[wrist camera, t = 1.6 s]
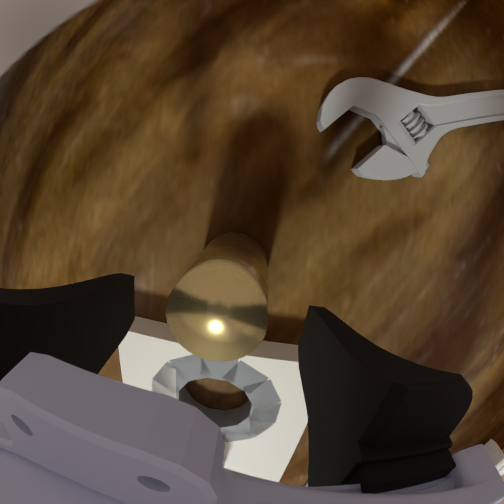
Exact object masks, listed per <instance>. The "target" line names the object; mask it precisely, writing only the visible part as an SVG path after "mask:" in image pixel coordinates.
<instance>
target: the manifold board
mask: <svg viewBox="0 0 504 504" xmlns="http://www.w3.org/2000/svg"><path fill="white" fill-rule="evenodd" d="M298 346H299V345H294V344H286V343H278V342H270V341H263V340H262V342H261V343H260V345H259V346H258V347H257V348H256V349H255V350H254V351H253V352H251V353H250V354H248V355H247V356H244V357H242V358H240V359H237V360H233V361H225V362H217V361H210V360H206V359H203V358H200V357H198V356H196V355H194V354H192V353H190V352H189V351H187V350H186V349H185V348H183V347H182V346H181V345H180V344H179V343H178V342H177V340H176V339H175V338H174V336H173V335H172V333H171V331H170V329H169V327H168V323H163V322H159V321H154V320H150V319H146V318H141V317H137V316H135V320H134V322H133V323H132V325H131V327H130V329H129V331H128V333H127V335H126V336H125V338H124V339H123V341H122V342H121V343H120V345H119V355H120V364H121V372H122V379H123V383H125V384H128V385H131V386H135V387H138V388H142V389H145V390H149V391H153V392H157V393H161V394H164V395H167V396H170V397H172V398H175V399H177V400H180V401H182V402H184V403H187V404H190V405H192V406H195V407H196V408H197V409H199V410H200V411H201V412H202V413H203V414H205V415H206V416H207V417H208V418H209V419H210V420H212V421H213V422H214V423H215V424H217V425H218V426H219V427H220V430H221V434H222V437H223V440H224V443H225V449H224V455H223V462H222V463H223V468H226V469H229V470H233V471H236V472H240V473H243V474H247V475H250V476H254V477H258V478H262V479H266V480H271V481H275V482H279V480H280V478H281V476H282V474H283V473H284V471H285V469H286V467H287V465H288V463H289V461H290V459H291V457H292V455H293V453H294V451H295V449H296V446H297V444H298V442H299V440H300V438H301V436H302V434H303V431H304V429H305V427H306V425H307V422H308V417H307V409H306V404H305V398H304V393H303V388H302V383H301V377H300V372H299V363H298ZM202 378H212V379H218V380H224V381H228V382H230V383H232V384H233V385H235V386H236V387H238V388H240V389H242V390H243V391H245V393H246V395H247V397H248V398H249V400H248V401H247V402H246V403H244V404H243V405H242V406H241V407H239V408H234V409H228V410H219V409H213V408H208V407H206V406H204V405H202V404H200V403H199V402H197V401H195V400H194V399H193V398H192V397H191V396H190V394H189V393H188V391H187V390H186V388H185V384H186V383H187V382H188V381H193V380H197V379H202Z"/></svg>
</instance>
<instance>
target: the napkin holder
mask: <svg viewBox="0 0 504 504" xmlns="http://www.w3.org/2000/svg"><path fill="white" fill-rule="evenodd" d="M484 448H485V449H486V451H487V453H488V454H489V456H490V458H491V460H492V461H493V463H494V465H495V467H496V469H497V470H498V472H499V474H500V476H502V475H503V474H504V454H503V452H502V451H501V449H500V448H499V446H498V444H497V443H496V442H495V441H493V440H492V439H490V440H489V441H488V442H487V443H486V444H485V445H484Z"/></svg>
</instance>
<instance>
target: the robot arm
mask: <svg viewBox="0 0 504 504" xmlns="http://www.w3.org/2000/svg"><path fill="white" fill-rule="evenodd" d="M134 320H135V306H134V276H132V275H127V274H123V273H118V274H112V275H107V276H103V277H99V278H95V279H91V280H87V281H83V282H78V283H74V284H69V285H64V286H59V287H52V288H43V289H3V288H0V504H498V503H499V502H500V501H501V500H503V499H504V482H503V480H502V478H501V476H500V474H499V472H498V470H497V469H496V467H495V465H494V463H493V461H492V460H491V458H490V456H489V454H488V453H487V451H486V449H485V448H484V446H483V444H478V445H475V446H472V447H469V448H466V449H463V450H460V451H458V452H457V453H455V454H454V455H452V456H451V454H450V452H449V450H448V449H449V448H450V447H451V446H452V441H451V439H450V437H449V436H450V434H451V433H452V432H453V430H454V429H455V428H456V426H457V425H458V424H459V422H460V421H461V420H462V418H463V417H464V415H465V414H466V412H467V410H468V409H469V406H470V404H471V401H472V393H473V391H472V389H471V387H470V385H469V384H468V383H467V381H466V380H465V379H464V378H463V376H462V375H460V374H455V373H450V372H445V371H440V370H435V369H432V368H428V367H425V366H422V365H418V364H416V363H413V362H410V361H408V360H405V359H403V358H401V357H398V356H396V355H394V354H392V353H390V352H388V351H386V350H384V349H382V348H380V347H379V346H377V345H375V344H373V343H372V342H370V341H369V340H367V339H366V338H364V337H363V336H361V335H360V334H359V333H357V332H356V331H355V330H353V329H352V328H351V327H349V326H348V325H347V324H346V323H344V322H343V321H342V320H341V319H339V318H338V317H337V316H336V315H334V314H333V313H332V312H330V311H329V310H328V309H326V308H324V307H318V306H310V305H309V308H308V312H307V316H306V320H305V324H304V328H303V331H302V335H301V339H300V342H299V346H298V363H299V372H300V377H301V383H302V388H303V393H304V398H305V404H306V409H307V417H308V436H309V469H308V482H307V484H306V485H305V487H301V486H296V485H290V484H285V483H280V482H275V481H271V480H266V479H262V478H258V477H254V476H250V475H247V474H243V473H240V472H236V471H233V470H229V469H226V468H223V463H222V462H223V455H224V449H225V443H224V440H223V437H222V434H221V430H220V427H219V426H218V425H217V424H215V423H214V422H213V421H212V420H210V419H209V418H208V417H207V416H206V415H205V414H203V413H202V412H201V411H200V410H199V409H197V408H196V407H195V406H192V405H190V404H187V403H184V402H182V401H180V400H177V399H175V398H172V397H170V396H167V395H164V394H161V393H157V392H153V391H149V390H145V389H142V388H138V387H135V386H131V385H128V384H125V383H122V382H118V381H115V380H112V379H109V378H106V377H103V376H100V375H98V373H99V372H100V370H101V369H102V367H103V366H104V365H105V363H106V362H107V360H108V359H109V358H110V356H111V355H112V354H113V353H114V351H115V350H116V349H117V347H118V346H119V345H120V343H121V342H122V341H123V339H124V338H125V336H126V335H127V333H128V331H129V329H130V327H131V325H132V323H133V322H134Z"/></svg>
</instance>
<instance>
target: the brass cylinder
mask: <svg viewBox="0 0 504 504" xmlns="http://www.w3.org/2000/svg"><path fill="white" fill-rule="evenodd" d="M166 319H167V323H168V327H169V329H170V331H171V333H172V335H173V336H174V338H175V339H176V340H177V342H178V343H179V344H180V345H181V346H182V347H183V348H185V349H186V350H187V351H189V352H190V353H192V354H194V355H196V356H198V357H200V358H203V359H206V360H210V361H217V362H225V361H233V360H237V359H240V358H242V357H244V356H247V355H248V354H250V353H251V352H253V351H254V350H255V349H256V348H257V347H258V346H259V345H260V343H261V342H262V340H263V339H264V336H265V334H266V331H267V326H268V276H267V257H266V254H265V252H264V250H263V248H262V247H261V245H260V244H259V243H258V242H257V241H256V240H255V239H253V238H252V237H250V236H248V235H246V234H243V233H239V232H229V233H224V234H221V235H219V236H217V237H215V238H214V239H213V240H212V241H210V243H209V244H208V245H207V246H206V247H205V249H204V250H203V251H202V253H201V254H200V255H199V256H198V258H197V259H196V260H195V261H194V263H193V264H192V265H191V267H190V268H189V269H188V270H187V272H186V273H185V274H184V276H183V277H182V278H181V279H180V281H179V282H178V283H177V285H176V286H175V287H174V289H173V290H172V292H171V293H170V295H169V298H168V300H167V304H166Z"/></svg>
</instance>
